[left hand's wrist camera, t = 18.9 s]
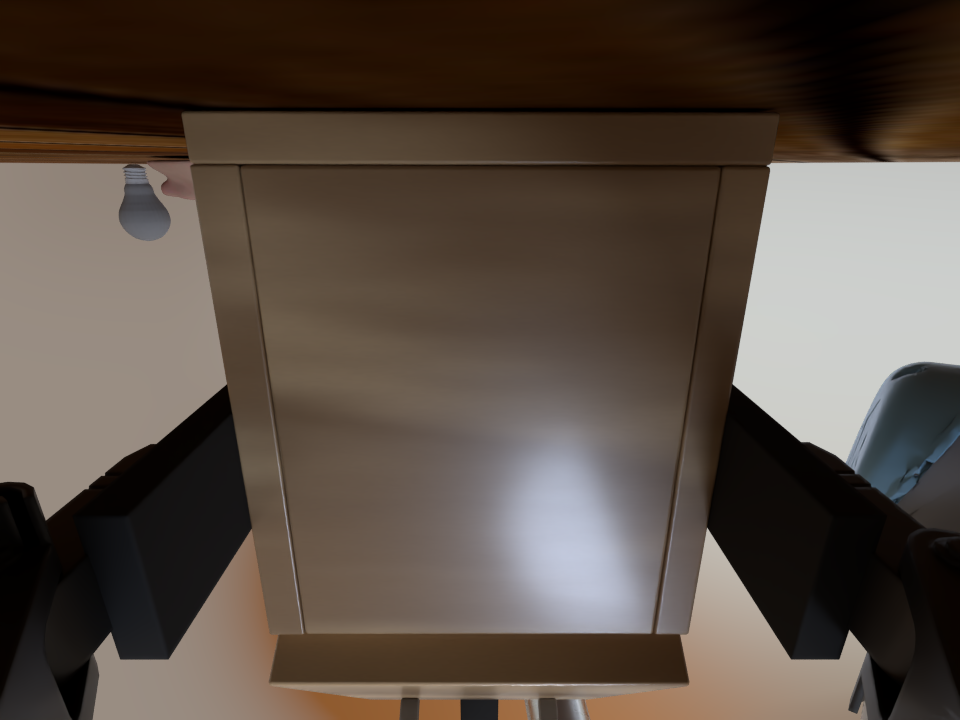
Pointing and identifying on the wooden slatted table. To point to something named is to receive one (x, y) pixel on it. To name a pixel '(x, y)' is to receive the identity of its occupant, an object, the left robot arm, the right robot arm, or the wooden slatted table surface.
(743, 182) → the chest
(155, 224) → the light bulb
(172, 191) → the anatomical model
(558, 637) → the lid
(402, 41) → the wooden slatted table surface
